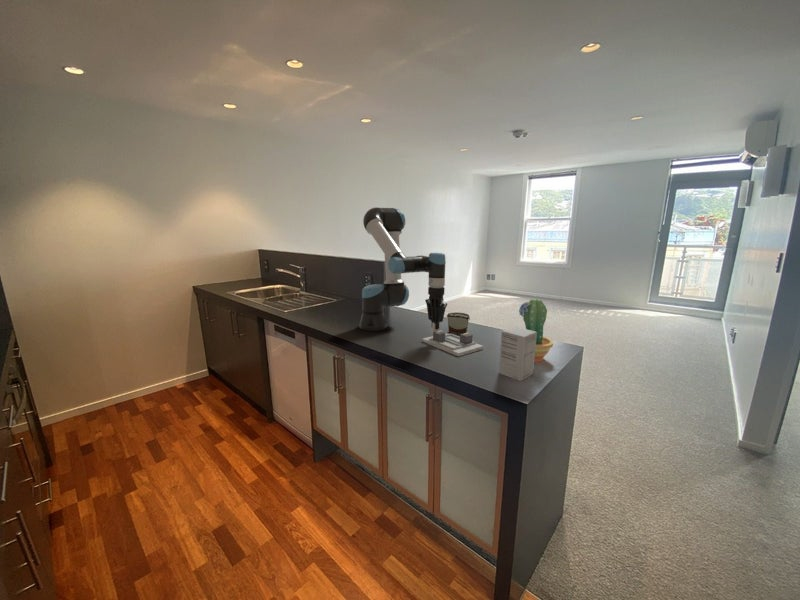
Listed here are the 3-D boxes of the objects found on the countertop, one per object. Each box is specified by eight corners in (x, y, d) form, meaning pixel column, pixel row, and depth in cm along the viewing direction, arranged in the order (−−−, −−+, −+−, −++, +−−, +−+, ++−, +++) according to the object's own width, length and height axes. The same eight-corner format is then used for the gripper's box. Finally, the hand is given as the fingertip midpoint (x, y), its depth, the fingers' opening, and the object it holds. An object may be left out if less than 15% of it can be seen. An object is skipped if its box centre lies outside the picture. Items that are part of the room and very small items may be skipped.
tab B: (459, 342, 155) (460, 333, 154) (465, 341, 157) (466, 331, 157) (466, 345, 152) (466, 335, 151) (472, 343, 154) (472, 333, 153)
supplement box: (511, 366, 132) (515, 325, 129) (533, 374, 125) (537, 331, 122) (497, 373, 126) (500, 330, 123) (520, 381, 119) (524, 336, 116)
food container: (471, 331, 178) (472, 313, 176) (468, 335, 172) (469, 316, 170) (449, 329, 183) (449, 311, 181) (445, 332, 177) (446, 313, 175)
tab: (432, 340, 158) (433, 331, 157) (439, 338, 160) (439, 329, 160) (438, 342, 155) (438, 333, 154) (444, 341, 157) (445, 331, 156)
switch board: (422, 341, 162) (422, 336, 161) (446, 335, 171) (446, 331, 170) (458, 356, 143) (458, 351, 142) (483, 349, 152) (483, 344, 151)
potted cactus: (520, 348, 153) (525, 295, 148) (556, 356, 143) (562, 299, 138) (507, 358, 141) (512, 300, 136) (545, 368, 131) (552, 306, 126)
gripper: (421, 285, 158) (420, 333, 162) (440, 289, 147) (438, 340, 152) (433, 284, 162) (432, 330, 167) (452, 287, 152) (450, 337, 156)
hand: (435, 335), depth 159 cm, fingers closed
